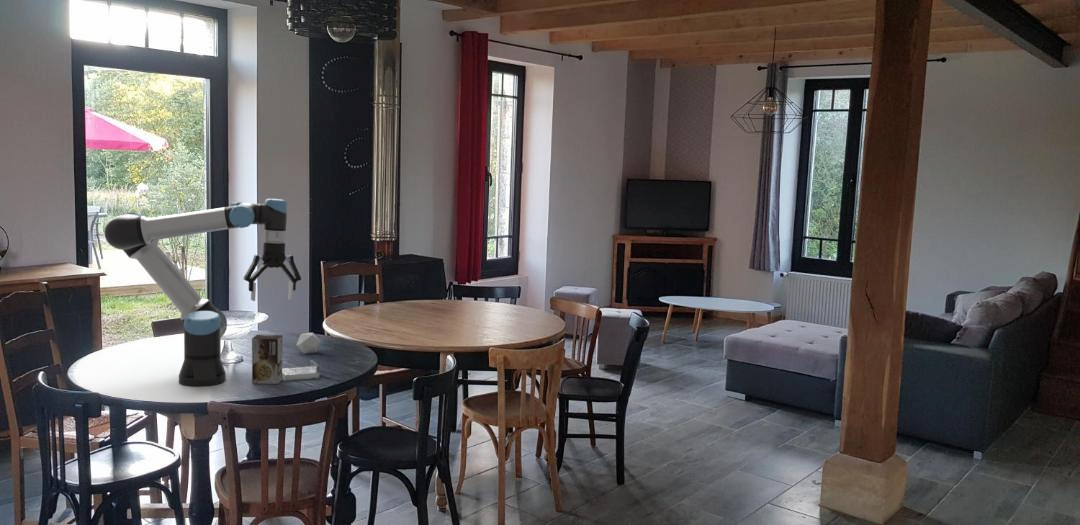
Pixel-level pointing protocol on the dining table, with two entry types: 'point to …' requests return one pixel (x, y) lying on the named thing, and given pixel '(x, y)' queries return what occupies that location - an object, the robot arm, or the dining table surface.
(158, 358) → the dining table surface
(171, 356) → the dining table surface
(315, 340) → the die
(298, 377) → the tray
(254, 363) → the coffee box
